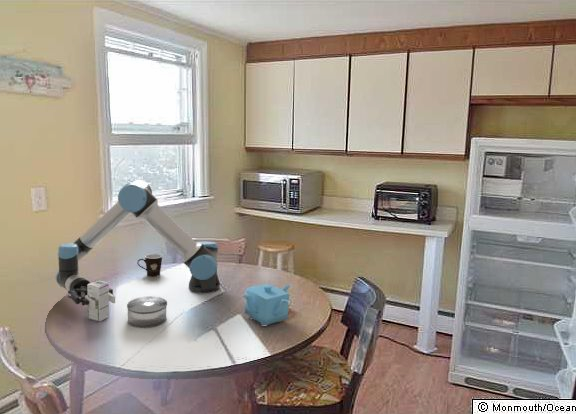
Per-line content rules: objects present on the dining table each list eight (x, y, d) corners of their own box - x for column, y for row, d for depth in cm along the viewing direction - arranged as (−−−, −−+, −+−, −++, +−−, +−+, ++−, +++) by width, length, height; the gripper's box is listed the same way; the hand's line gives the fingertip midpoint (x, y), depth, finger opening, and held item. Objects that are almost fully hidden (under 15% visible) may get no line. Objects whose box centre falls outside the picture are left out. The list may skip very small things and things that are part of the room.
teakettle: (248, 309, 182) (249, 277, 179) (290, 312, 180) (292, 280, 178) (239, 328, 163) (241, 292, 161) (287, 332, 162) (289, 297, 159)
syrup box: (110, 316, 166) (109, 281, 163) (98, 322, 160) (98, 286, 158) (98, 313, 167) (98, 279, 165) (87, 319, 162) (86, 283, 159)
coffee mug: (164, 272, 221) (165, 254, 219) (158, 278, 213) (158, 259, 211) (143, 270, 222) (143, 252, 220) (136, 275, 214) (136, 257, 212)
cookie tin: (162, 310, 175) (162, 294, 174) (170, 324, 163) (171, 308, 161) (124, 315, 168) (124, 299, 167) (130, 331, 155) (130, 313, 154)
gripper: (102, 289, 182) (128, 304, 167) (53, 300, 167) (77, 319, 152) (102, 272, 181) (128, 287, 166) (52, 282, 166) (77, 299, 151)
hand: (104, 302), depth 159 cm, fingers closed on syrup box, 7 cm apart
